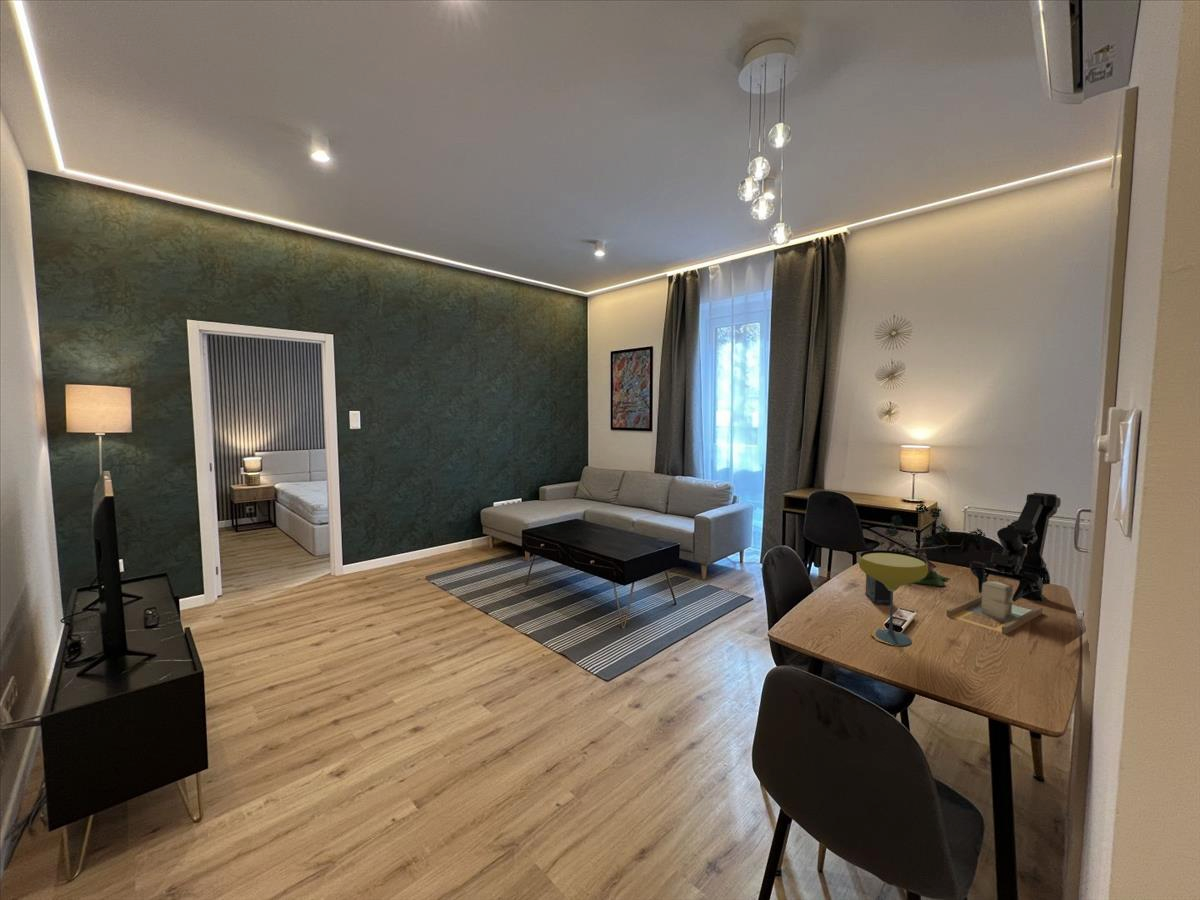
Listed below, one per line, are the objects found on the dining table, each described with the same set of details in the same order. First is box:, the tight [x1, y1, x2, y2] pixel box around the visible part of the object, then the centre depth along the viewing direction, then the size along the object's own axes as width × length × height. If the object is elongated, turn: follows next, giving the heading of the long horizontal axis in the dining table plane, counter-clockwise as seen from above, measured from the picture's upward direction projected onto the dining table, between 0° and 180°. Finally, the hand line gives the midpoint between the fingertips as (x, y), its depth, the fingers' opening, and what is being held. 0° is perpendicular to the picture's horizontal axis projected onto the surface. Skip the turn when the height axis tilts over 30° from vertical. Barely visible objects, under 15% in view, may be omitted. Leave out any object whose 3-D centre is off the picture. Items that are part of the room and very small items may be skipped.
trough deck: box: [946, 593, 1043, 635], centre depth 161 cm, size 27×16×4 cm, turn 121°
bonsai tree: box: [881, 503, 987, 588], centre depth 194 cm, size 35×24×32 cm
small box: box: [864, 573, 891, 606], centre depth 180 cm, size 11×6×10 cm, turn 168°
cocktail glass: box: [858, 549, 928, 647], centre depth 149 cm, size 18×18×25 cm
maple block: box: [981, 579, 1014, 619], centre depth 162 cm, size 6×6×10 cm
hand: (996, 596), depth 161 cm, fingers open, 9 cm apart
